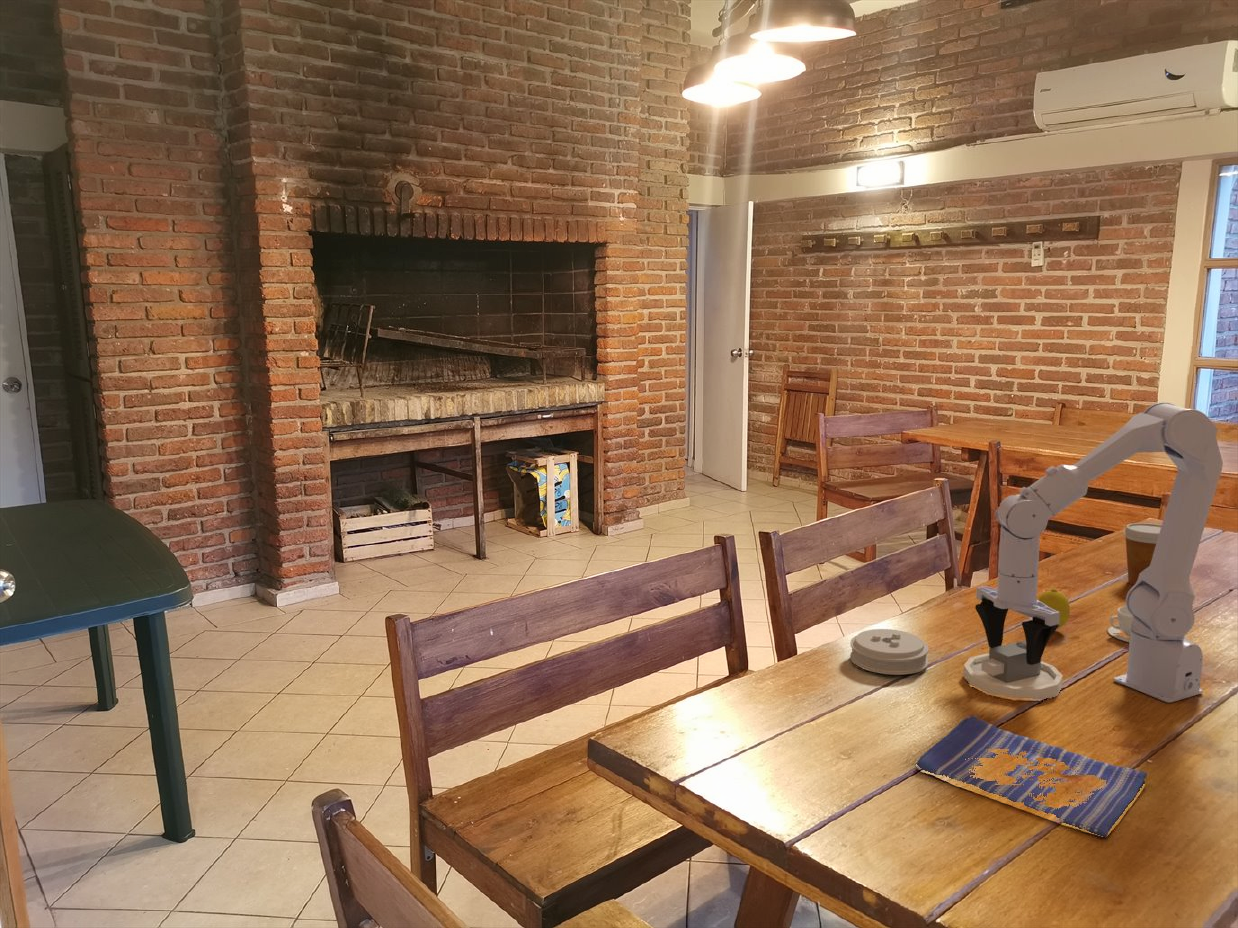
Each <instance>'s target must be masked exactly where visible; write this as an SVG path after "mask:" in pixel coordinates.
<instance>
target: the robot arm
mask: <svg viewBox="0 0 1238 928" xmlns="http://www.w3.org/2000/svg"><path fill="white" fill-rule="evenodd" d="M1218 431H1219V428H1218V427H1217V425H1215V424H1214V423H1213V421H1212V420H1211V419H1210V417H1209V416H1207V415H1206V414H1205V413H1204V412H1202V411H1201V410H1197V409H1194V408H1187V407H1184V406H1178V405H1175V404H1172V403H1170V402H1165V401H1162V402H1156V403H1153V404H1150V405H1149V406H1148V407H1147V408H1145V410H1144V411H1143V412H1139V413H1137V414H1135V415H1133V416H1131V418H1130V419H1129V420H1128V421H1127V422H1126V423H1125V424H1124V425H1123V426H1122V427H1121V428H1120V429H1118V430H1117V431H1116V432H1115V433H1113V434H1112V435H1110V437H1108V438H1106V439H1105V440H1104V441H1102V442H1101V443H1100V444H1099V445H1097V446H1096V447H1095V448H1093V450H1091V451H1090V452H1089V453H1087V454H1086V455H1085V456H1084V457H1081V459H1080V460H1078V461H1077V462H1076V463H1074V464H1073V465H1072V464H1059V465H1058V466H1057V467H1055V466H1053V465H1051V466H1049V467H1048V468H1047V469H1045V470H1044V471H1045V473H1046V474H1045V475H1043V476H1042V477H1040V478H1039V479H1038V480H1036V481H1034V483H1032V484H1031V485H1030V486H1027V487H1025V486H1023V487H1021V488H1020V489H1019V490H1018V491H1019V494H1011V495H1008V496H1007V497H1005V498H1004V499H1002V501H1001V502H1000V503H999V506H998V507H997V509H996V510H995V511H994V515H995V518H996V521H997V522H998V523H999V524H1000V525H1001V526H1000V533H999V535H1000V536H999V537H1000V538H999V544H998V545H999V547H998V568H997V569H998V570H997V571H998V572H997V588H994V587H991V586H987V585H984V586H979V587H977V588H976V595H975V596H976V597H975V598H976V600H978V601H980V603H977V604H975V611H976V613H977V615H978V616H979V618H980V620H981V623H982V625H983V628H984V632H985V634H986V640H987V645H988V647H989V648H994V647H998V646H1002V644H1003V641H1004V629H1005V623H1006V618H1007V614H1008V612H1009V610H1010V611H1013V612H1015V613H1019V614H1021V615H1024V616H1025V617H1026V616H1027V617H1030V618H1031V619H1030V620H1027V621H1023V622H1021V626H1022V629H1023V633H1024V636H1025V641H1026V660H1027V664H1029V665H1033V664H1037V663H1040V661H1042V657H1043V654H1044V651H1045V649H1046V647H1047V645H1048V642H1049V640H1050V638H1051V637H1052V635H1054V633H1055V631H1056V630H1057V629H1059V628H1058V626H1059V621H1060V612H1058V611H1056V610H1054V609H1052V608H1050V607H1048V606H1047V605H1045V604H1043V603H1042V602H1040V601H1039V600H1038V599H1037V598H1038V580H1039V565H1040V564H1039V563H1040V561H1039V560H1040V535H1041V534H1043V532H1044V531H1045V530H1046V529H1047V525H1048V523H1049V520H1051V519H1053V518H1054V517H1055V516H1057V515H1058V514H1059V513H1061V512H1063V511H1064V510H1065V509H1067V508H1068V507H1070V506H1071V505H1073V504H1074V503H1075V502H1077V501H1078V500H1080V499H1081V498H1083V497H1085V496H1086V495H1087V493H1088V489H1089V484H1090V483H1091V481H1093V480H1096V479H1097V478H1098V477H1100V476H1101V475H1104V474H1105V473H1106V472H1108V471H1110V470H1111V469H1113V468H1114V467H1116V466H1117V465H1119V464H1121V463H1123V462H1124V461H1126V460H1128V459H1129V458H1131V457H1132V456H1134V455H1135V454H1138V453H1164V452H1165V454H1166V455H1167V456H1168V458H1169V459H1170V460H1171V461H1172V463H1173V465H1175V467H1176V468H1177V472H1176V475H1175V479H1174V482H1173V486H1172V488H1171V491H1170V496H1169V500H1168V503H1167V506H1166V509H1165V512H1164V517H1163V520H1162V522H1161V525H1162V526H1161V529H1160V533H1159V536H1158V540H1157V543H1156V547H1155V550H1154V553H1153V557H1152V560H1151V564H1150V566H1149V567H1148V568H1146V569H1145V570H1143V571H1142V572H1141V573H1140V574H1139V577H1138V580H1137V582H1136V584H1135V585H1133V586H1131V588H1130V589H1129V590H1128V592H1127V594H1126V596H1125V606H1126V607H1127V609H1128V611H1129V612H1130V613H1131V614H1132V615H1133V619H1132V623H1131V629H1130V642H1128V643H1129V645H1128V657H1127V670H1126V673H1125V674H1121V675H1119V676H1115V677H1113V681H1114V682H1116V683H1119V684H1120V685H1123V686H1126V687H1128V688H1130V689H1133V690H1136V691H1139V693H1140V692H1141V693H1143V694H1146V695H1148V696H1150V697H1153V698H1155V699H1158V700H1160V701H1163V702H1166V703H1169V704H1170V703H1174V702H1177V701H1180V700H1184V699H1187V698H1190V697H1194V696H1196V695H1197V696H1198V695H1200V694H1203V689H1202V688H1201V678H1202V667H1203V651H1202V648H1201V647H1200V646H1199V645H1198V644H1197V643H1195V642H1192V641H1191V640H1189V639H1188V638H1187V637H1186V635H1187V634H1188V633H1189V632H1190V631H1191V630H1192V628H1193V626H1194V624H1195V613H1194V608H1193V605H1194V600H1195V597H1196V596H1195V592H1194V589H1193V586H1192V583H1191V580H1190V575H1191V573H1192V571H1193V567H1194V563H1195V561H1196V560H1195V559H1196V557H1197V553H1198V551H1199V550H1198V549H1199V548H1200V547H1199V546H1200V543H1201V540H1202V537H1203V533H1204V530H1205V527H1206V524H1207V520H1208V517H1209V513H1210V511H1211V507H1212V503H1213V502H1214V501H1213V500H1214V498H1215V493H1216V490H1217V488H1218V484H1219V481H1220V478H1221V474H1222V470H1223V466H1224V465H1223V459H1222V455H1221V451H1220V447H1219V444H1218V440H1217V435H1218Z"/></svg>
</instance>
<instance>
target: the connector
mask: <svg viewBox="0 0 1238 928" xmlns="http://www.w3.org/2000/svg"><path fill="white" fill-rule="evenodd" d="M988 651H989V652H988V653H989V659H987V660H983V661H982V668H981V670H982V671H984V672H986V673H988V675H990V676H992V677H995V678H997V679H999V680H1001V681H1003V682H1005V683H1010V682H1014V681H1018V680H1022V679H1026V678H1030V677H1034V676H1038V675H1040V671H1041V661H1042V660H1041V661H1040V663H1037V664H1033V665H1029V664H1027V660H1026V640H1022V641H1021V640H1020V641H1016V642H1012V643H1007V644H1003V645H1001V646H998V647H994V648H990V647H989V650H988Z"/></svg>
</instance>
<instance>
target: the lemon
mask: <svg viewBox="0 0 1238 928" xmlns="http://www.w3.org/2000/svg"><path fill="white" fill-rule="evenodd" d="M1037 600H1039V601H1040V602H1042V603H1043V604H1045V605H1047V606H1048V607H1050V608H1052V609H1054V610H1056V611H1058V612H1060V621H1059V626H1058V628H1057V629H1059V628H1061V627H1063V626H1064V625H1066V624H1067V622H1068V620H1069V619H1070V615H1071V609H1070V608H1071V605H1070V601H1069V599H1068V597H1067V596H1066V595H1065V593H1064V592H1061V591H1059V590H1058V589H1057V588H1051V589H1048V590H1046V591H1044V592H1043V593H1041V594H1040V596H1039V598H1038V599H1037Z"/></svg>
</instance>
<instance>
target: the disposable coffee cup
mask: <svg viewBox="0 0 1238 928" xmlns="http://www.w3.org/2000/svg"><path fill="white" fill-rule="evenodd" d="M1161 526H1162V524H1156V523H1145V522H1135V523H1128V524H1127V525H1126V527H1125V529H1124V530H1123V532H1122V533H1123V534H1124V537H1125V548H1126V549H1125V550H1126V564H1127V577H1128V578H1127V579H1128V583H1129V584H1130V585H1133V586H1134V585H1135V584H1136V582H1137V580H1138V577H1139V574H1140V573H1141V572H1142V571H1143V570H1145V569H1146V568H1148V567H1149V566H1150V564H1151V560H1152V557H1153V553H1154V550H1155V547H1156V543H1157V540H1158V536H1159V533H1160V529H1161Z"/></svg>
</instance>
